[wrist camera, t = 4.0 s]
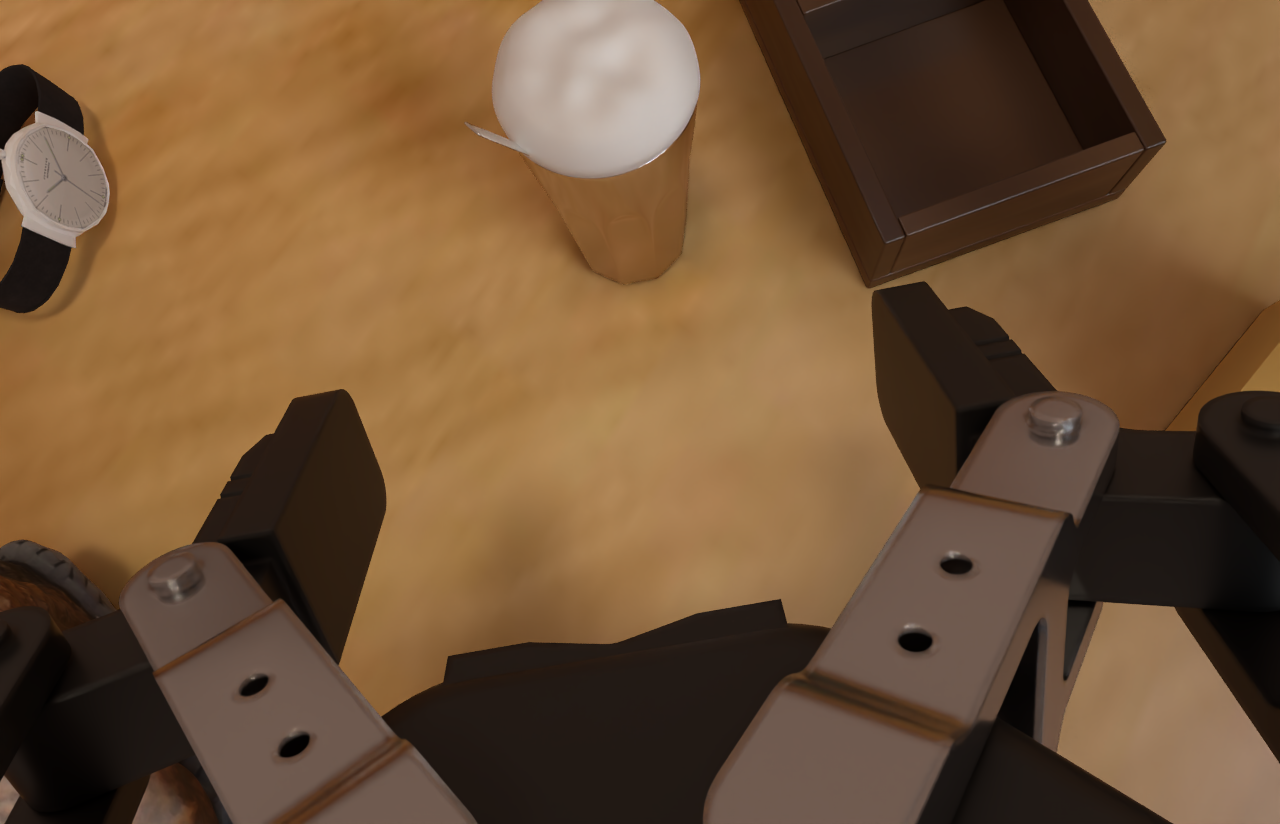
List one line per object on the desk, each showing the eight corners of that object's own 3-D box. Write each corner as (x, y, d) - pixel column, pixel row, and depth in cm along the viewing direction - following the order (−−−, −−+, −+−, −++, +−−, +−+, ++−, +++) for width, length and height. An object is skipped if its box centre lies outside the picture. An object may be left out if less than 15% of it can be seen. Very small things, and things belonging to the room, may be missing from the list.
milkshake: (507, 258, 29) (393, 60, 19) (631, 138, 29) (581, -114, 19) (613, 356, 28) (550, 199, 18) (739, 229, 28) (744, 11, 18)
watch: (104, 317, 29) (19, 273, 26) (-37, 328, 30) (-141, 286, 26) (127, 97, 31) (50, 28, 28) (-7, 109, 32) (-100, 43, 28)
